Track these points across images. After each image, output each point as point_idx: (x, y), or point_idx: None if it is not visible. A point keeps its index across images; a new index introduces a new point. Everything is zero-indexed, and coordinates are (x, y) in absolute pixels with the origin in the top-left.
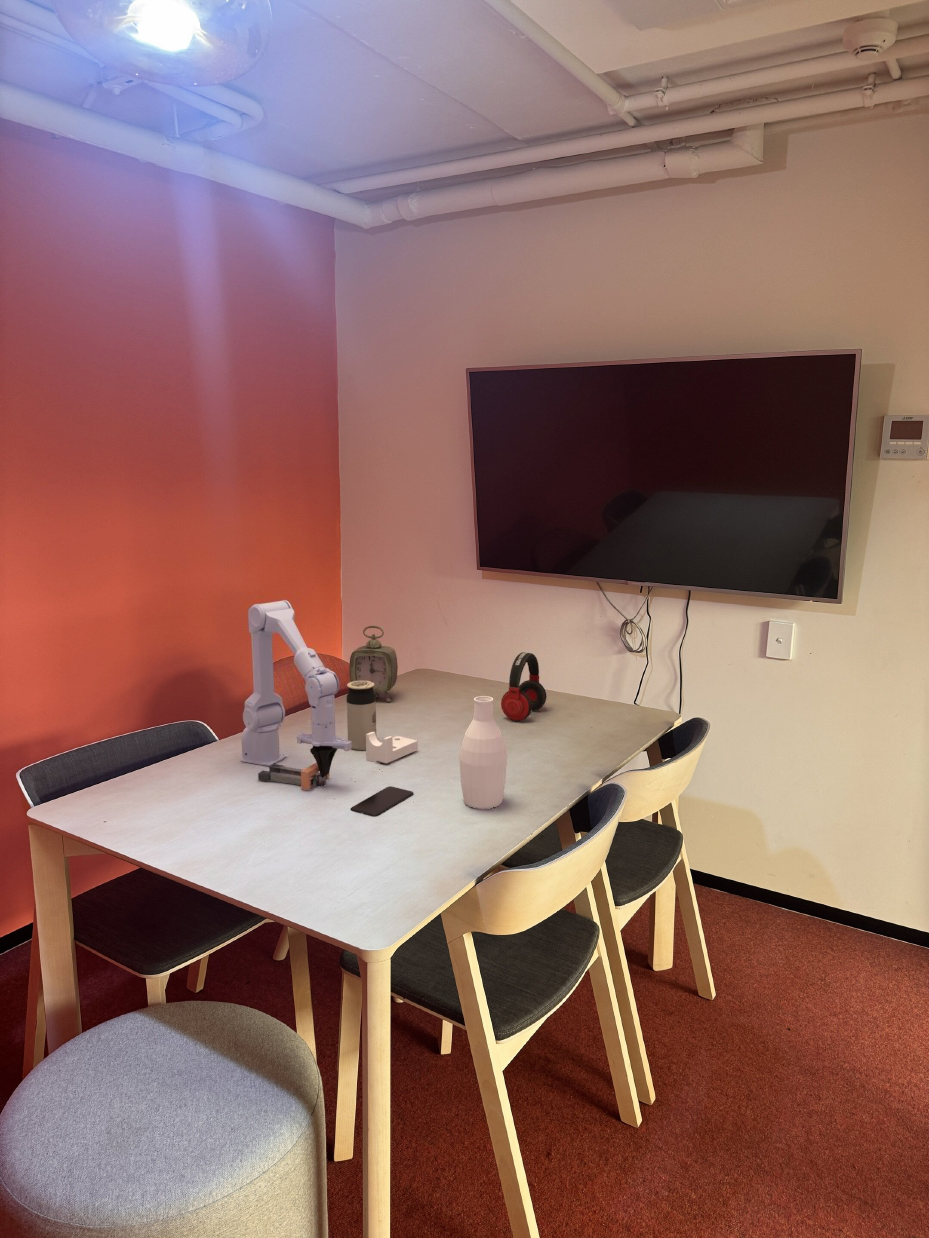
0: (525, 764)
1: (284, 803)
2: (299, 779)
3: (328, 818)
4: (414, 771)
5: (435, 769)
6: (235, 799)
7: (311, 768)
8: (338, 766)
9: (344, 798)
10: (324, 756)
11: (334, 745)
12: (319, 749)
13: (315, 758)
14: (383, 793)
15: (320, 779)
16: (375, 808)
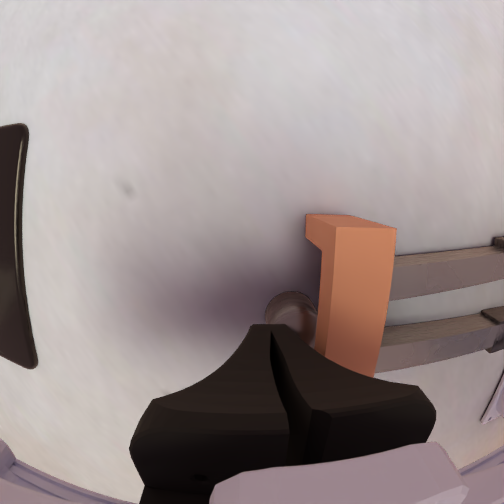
0: None
1: (322, 44)
2: (395, 265)
3: (69, 29)
4: (84, 470)
5: (62, 476)
6: (486, 60)
7: (351, 313)
8: None
9: (89, 212)
10: (207, 391)
11: (31, 494)
12: (315, 463)
13: (341, 371)
14: (5, 304)
15: (282, 309)
16: None
